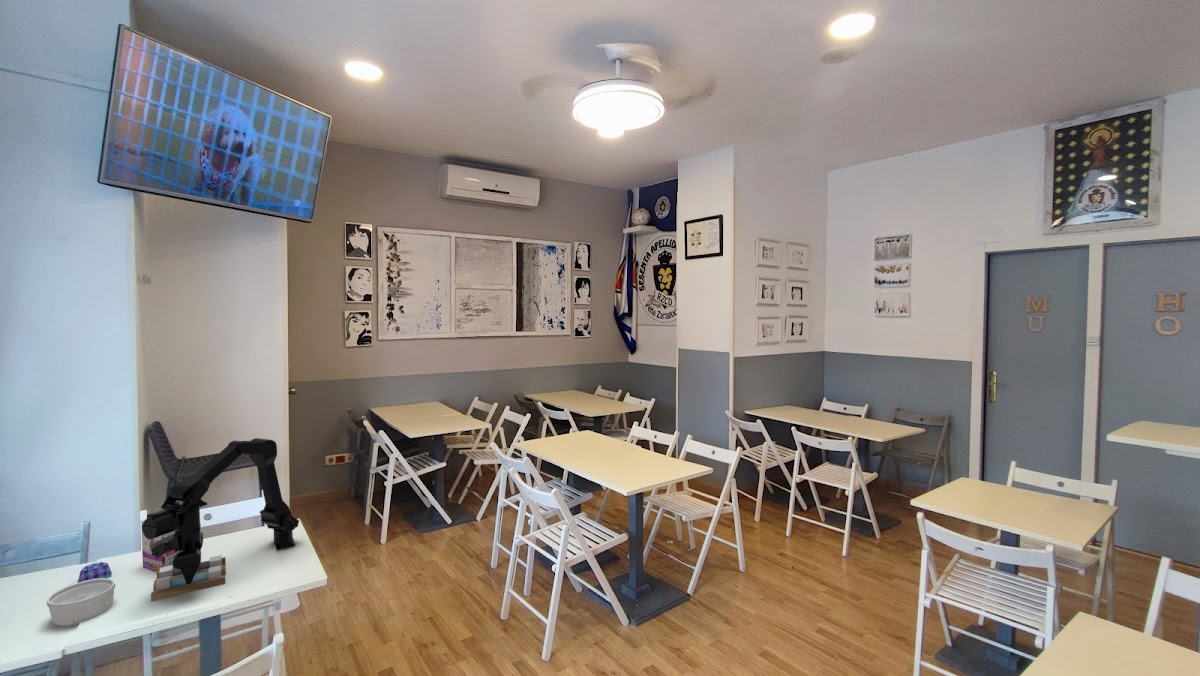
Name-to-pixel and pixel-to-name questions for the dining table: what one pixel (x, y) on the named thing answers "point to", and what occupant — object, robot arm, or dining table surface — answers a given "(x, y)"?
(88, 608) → the ramekin
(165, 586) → the grey and teal bar
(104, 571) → the purple spotted rounded lump
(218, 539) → the dining table surface
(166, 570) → the grey white-ended bar
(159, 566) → the candy bar box
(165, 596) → the walnut rack
